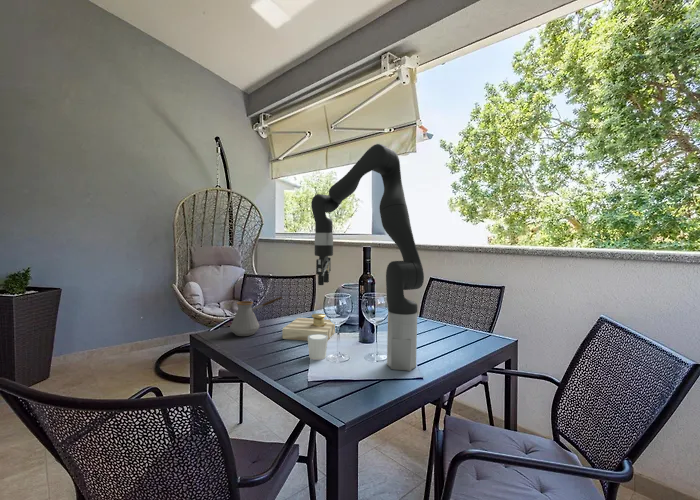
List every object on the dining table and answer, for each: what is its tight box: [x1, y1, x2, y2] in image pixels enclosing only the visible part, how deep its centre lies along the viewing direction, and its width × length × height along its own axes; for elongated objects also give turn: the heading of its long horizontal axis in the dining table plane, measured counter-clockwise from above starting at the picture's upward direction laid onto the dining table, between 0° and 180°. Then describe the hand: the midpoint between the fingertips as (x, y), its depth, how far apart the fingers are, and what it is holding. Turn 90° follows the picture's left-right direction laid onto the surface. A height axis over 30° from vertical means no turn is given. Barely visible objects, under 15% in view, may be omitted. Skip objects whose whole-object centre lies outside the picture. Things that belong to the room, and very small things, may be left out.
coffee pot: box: [229, 296, 284, 337], centre depth 144 cm, size 21×12×15 cm, turn 100°
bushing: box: [311, 312, 327, 327], centre depth 143 cm, size 6×6×8 cm
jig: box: [282, 317, 336, 342], centre depth 144 cm, size 18×18×4 cm
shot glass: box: [307, 334, 329, 361], centre depth 117 cm, size 7×7×7 cm
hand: (323, 283), depth 143 cm, fingers open, 8 cm apart
